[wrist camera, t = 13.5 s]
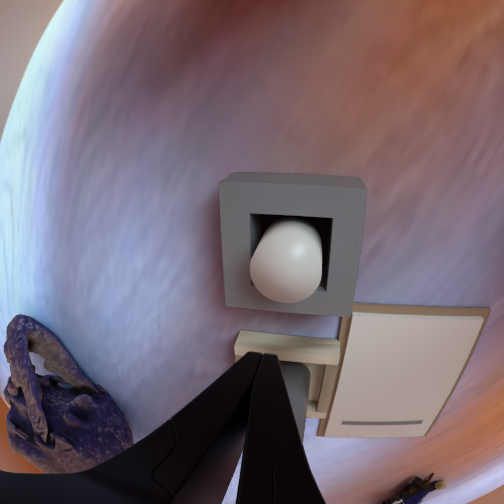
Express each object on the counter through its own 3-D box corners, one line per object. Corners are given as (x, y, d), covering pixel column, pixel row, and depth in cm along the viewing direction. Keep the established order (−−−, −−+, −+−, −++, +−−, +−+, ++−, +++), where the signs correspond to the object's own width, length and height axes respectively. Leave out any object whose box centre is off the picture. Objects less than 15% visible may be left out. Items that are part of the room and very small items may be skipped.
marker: (314, 362, 21) (305, 443, 15) (306, 392, 23) (295, 467, 16) (267, 355, 22) (246, 433, 15) (263, 385, 23) (243, 459, 17)
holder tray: (339, 339, 21) (339, 356, 19) (326, 402, 24) (325, 418, 22) (240, 329, 22) (234, 346, 20) (243, 393, 25) (238, 408, 23)
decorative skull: (-48, 337, 17) (-1, 459, 22) (104, 427, 18) (118, 522, 23) (24, 291, 30) (41, 407, 35) (156, 342, 30) (146, 454, 35)
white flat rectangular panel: (489, 307, 17) (493, 312, 17) (426, 433, 23) (426, 439, 23) (344, 301, 19) (344, 307, 19) (317, 433, 26) (316, 439, 25)
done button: (324, 219, 16) (324, 240, 13) (319, 275, 17) (318, 305, 14) (261, 215, 16) (248, 236, 14) (261, 271, 18) (250, 299, 15)
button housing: (359, 177, 16) (366, 189, 14) (347, 289, 19) (350, 317, 16) (234, 171, 18) (218, 182, 15) (238, 281, 20) (225, 306, 18)
